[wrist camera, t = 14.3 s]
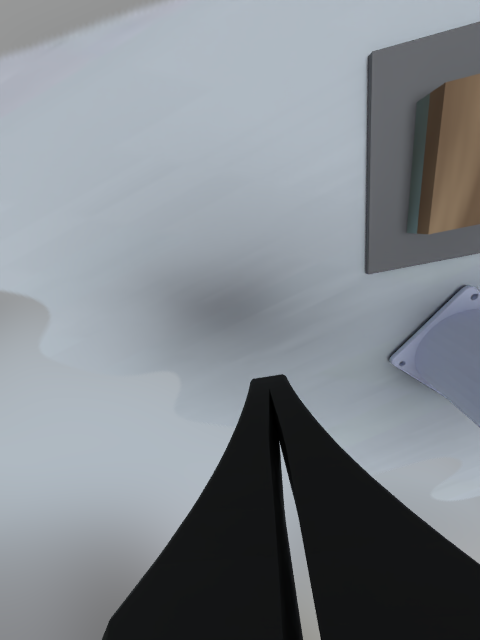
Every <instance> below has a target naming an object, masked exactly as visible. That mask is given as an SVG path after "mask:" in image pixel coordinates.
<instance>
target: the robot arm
mask: <svg viewBox="0 0 480 640" xmlns="http://www.w3.org/2000/svg"><path fill="white" fill-rule="evenodd" d="M472 295H473V296H472ZM471 296H472V297H471ZM401 361H402V363H400V362H401ZM390 362H391V363H392V364H393V365H394V366H396V367H397V368H399V369H401V370H402V371H404V372H405V373H407V374H409V375H410V376H412V377H414V378H415V379H417V380H418V381H420V382H422V383H423V384H425V385H427V386H428V387H430V388H431V389H433V390H435V391H436V392H438V393H440V394H441V395H443V396H444V397H446V398H447V399H448V400H449V401H450V402H451V403H453V404H454V405H455V406H456V407H457V408H458V409H459V410H461V411H462V412H463V413H464V414H465V415H466V416H467V417H468V418H470V419H471V420H472V421H473V422H474V423H475V424H476V425H478V426H479V427H480V291H479V290H478V289H476V288H475V287H472V286H465V287H463V288H462V289H461V290H460V291H459V292H458V293H457V294H456V295H455V296H454V297H452V298H451V299H450V300H449V301H448V302H447V303H446V304H445V305H444V306H443V307H442V308H441V309H440V310H439V311H438V312H437V313H436V314H435V315H434V316H433V317H432V318H431V319H430V320H429V321H428V322H426V323H425V324H424V325H423V326H422V327H421V328H420V329H419V330H418V331H417V332H416V333H415V334H414V335H413V336H412V337H411V338H410V339H409V340H408V341H407V342H406V343H405V344H404V345H403V346H402V347H400V348H399V349H398V350H397V351H396V352H395V353H394V354H393V355H392V356H391V357H390ZM399 363H400V364H399ZM279 441H280V444H279ZM280 445H281V449H282V453H283V457H284V461H285V465H286V468H287V473H288V476H289V480H290V484H291V488H292V492H293V496H294V500H295V504H296V508H297V512H298V517H299V522H300V527H301V533H302V538H303V543H304V549H305V555H306V560H307V565H308V571H309V577H310V582H311V588H312V593H313V599H314V603H315V609H316V614H317V620H318V626H319V631H320V637H321V640H480V564H479V563H477V562H476V561H475V560H473V559H472V558H471V557H469V556H468V555H467V554H466V553H464V552H463V551H461V550H460V549H459V548H457V547H456V546H455V545H454V544H452V543H451V542H450V541H448V540H447V539H446V538H445V537H443V536H442V535H441V534H440V533H438V532H437V531H436V530H435V529H433V528H432V527H431V526H430V525H428V524H427V523H426V522H425V521H423V520H422V519H421V518H420V517H418V516H417V515H416V514H415V513H413V512H412V511H411V510H410V509H408V508H407V507H406V506H405V505H404V504H403V503H402V502H400V501H399V500H398V499H397V498H395V496H393V495H392V494H391V493H390V492H389V491H388V490H386V489H385V488H384V487H383V486H382V485H381V484H379V483H378V482H377V481H376V480H375V479H374V478H372V477H371V476H370V475H369V474H368V473H367V472H366V471H365V470H364V469H363V468H362V467H361V466H360V465H359V464H357V463H356V462H355V461H354V460H353V459H352V458H351V457H350V456H349V455H348V454H347V453H346V452H345V451H344V450H343V449H342V448H341V447H340V446H339V445H338V444H337V443H336V442H335V441H334V440H333V438H332V437H331V436H330V435H329V434H328V433H327V432H326V431H325V430H324V428H323V427H322V426H321V425H320V424H319V423H318V422H317V420H316V419H315V418H314V417H313V416H312V414H311V413H310V412H309V410H308V409H307V408H306V407H305V405H304V404H303V403H302V401H301V400H300V399H299V397H298V396H297V394H296V393H295V391H294V390H293V388H292V387H291V385H290V383H289V381H288V380H287V377H286V376H285V375H283V374H282V375H276V376H269V377H263V378H256V379H252V381H251V382H250V387H249V392H248V395H247V399H246V402H245V405H244V408H243V410H242V413H241V416H240V418H239V421H238V424H237V426H236V428H235V431H234V433H233V435H232V437H231V440H230V442H229V444H228V446H227V448H226V450H225V452H224V454H223V456H222V458H221V460H220V462H219V464H218V466H217V468H216V470H215V471H214V473H213V475H212V477H211V479H210V480H209V482H208V483H207V485H206V487H205V489H204V490H203V492H202V493H201V495H200V497H199V499H198V500H197V501H196V503H195V505H194V506H193V508H192V509H191V511H190V512H189V514H188V515H187V517H186V518H185V520H184V521H183V522H182V524H181V525H180V527H179V528H178V530H177V531H176V533H175V534H174V536H173V537H172V538H171V540H170V541H169V543H168V545H167V546H166V547H165V549H164V550H163V551H162V553H161V554H160V555H159V557H158V558H157V559H156V561H155V562H154V564H153V565H152V566H151V567H150V569H149V570H148V571H147V572H146V574H145V575H144V576H143V578H142V579H141V580H140V582H139V583H138V584H137V585H136V587H135V588H134V589H133V591H132V592H131V593H130V594H129V596H128V597H127V598H126V600H125V601H124V602H123V603H122V605H121V606H120V607H119V609H118V610H117V611H116V613H115V614H114V615H113V616H112V618H111V619H110V621H109V623H108V626H107V628H106V631H105V633H104V636H103V638H102V640H303V636H302V629H301V623H300V616H299V609H298V603H297V596H296V589H295V582H294V575H293V569H292V562H291V556H290V548H289V542H288V534H287V527H286V520H285V510H284V499H283V485H282V471H281V457H280Z"/></svg>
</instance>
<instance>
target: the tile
mask: <svg viewBox="0 0 480 640" xmlns="http://www.w3.org/2000/svg"><path fill="white" fill-rule="evenodd" d="M478 224H480V74H476V75H472V76H468V77H464V78H461V79H457V80H453V81H449V82H445V83H444V84H443V85H441V86H440V87H438V88H437V89H435V90H434V91H432V92H431V93H429V94H428V95H427V96H425V97H424V98H422V99H421V100H419V101H418V102H417V107H416V120H415V133H414V145H413V158H412V171H411V184H410V197H409V209H408V222H407V233H416V234H433V233H438V232H443V231H448V230H453V229H458V228H463V227H468V226H473V225H478Z"/></svg>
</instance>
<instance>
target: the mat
mask: <svg viewBox="0 0 480 640" xmlns="http://www.w3.org/2000/svg"><path fill="white" fill-rule="evenodd" d="M476 74H480V22H477V23H473V24H470V25H466V26H462V27H459V28H455V29H452V30H448V31H445V32H441V33H437V34H434V35H430V36H427V37H423V38H419V39H416V40H412V41H409V42H405V43H402V44H398V45H394V46H391V47H387V48H384V49H380V50H376V51H373V52H372V53H371V54H370V55H369V62H368V139H367V216H366V273H367V274H372V273H378V272H383V271H388V270H393V269H399V268H404V267H409V266H414V265H420V264H425V263H430V262H435V261H441V260H446V259H451V258H457V257H462V256H467V255H472V254H478V253H480V224H478V225H473V226H468V227H463V228H458V229H453V230H448V231H443V232H438V233H433V234H416V233H407V222H408V209H409V197H410V184H411V171H412V158H413V145H414V133H415V120H416V107H417V102H418V101H419V100H421V99H422V98H424V97H425V96H427V95H428V94H429V93H431V92H432V91H434V90H435V89H437V88H438V87H440V86H441V85H443V84H444V83H445V82H449V81H453V80H457V79H461V78H464V77H468V76H472V75H476Z"/></svg>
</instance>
